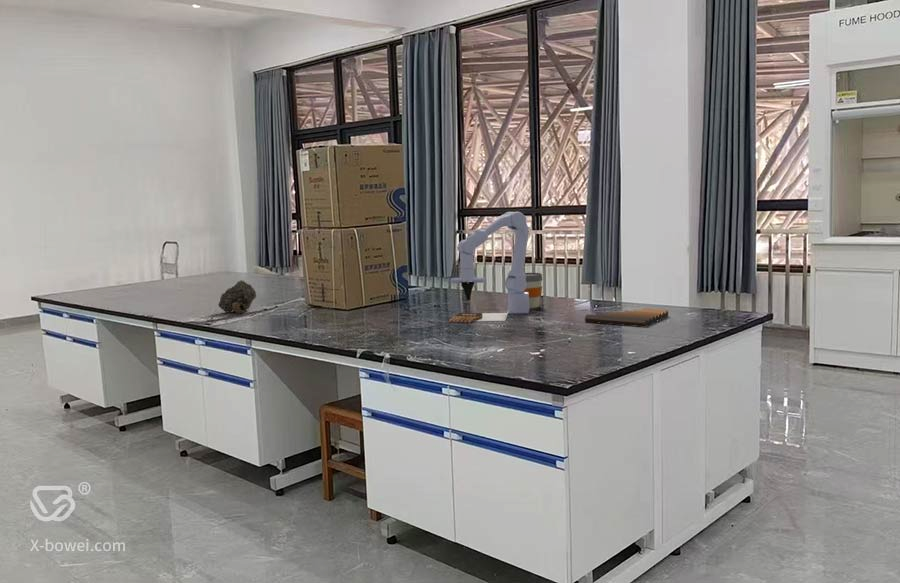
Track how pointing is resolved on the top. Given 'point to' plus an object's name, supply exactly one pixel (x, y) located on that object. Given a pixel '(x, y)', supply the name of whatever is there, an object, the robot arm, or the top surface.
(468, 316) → the ammunition clip
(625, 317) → the pan flute
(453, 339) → the top surface
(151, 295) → the top surface
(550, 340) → the top surface
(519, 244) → the robot arm
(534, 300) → the reusable coffee cup
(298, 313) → the top surface
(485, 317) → the mat
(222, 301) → the rock
